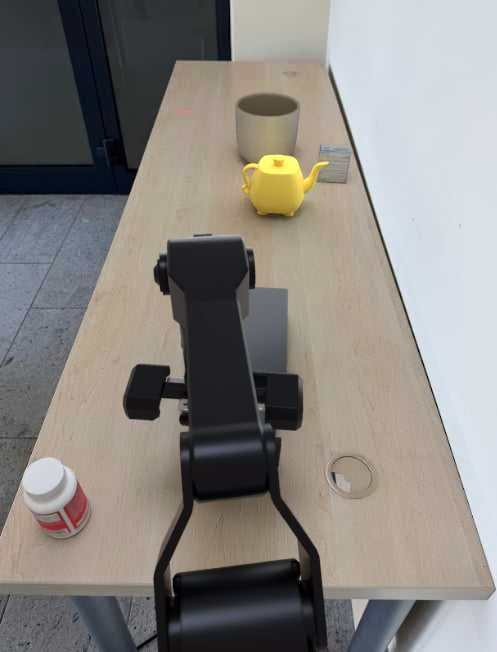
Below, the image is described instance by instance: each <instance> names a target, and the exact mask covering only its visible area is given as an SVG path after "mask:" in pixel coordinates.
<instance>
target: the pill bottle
mask: <svg viewBox="0 0 497 652" xmlns="http://www.w3.org/2000/svg"><path fill="white" fill-rule="evenodd" d="M21 483H22V484H21V485H22V488H23V492H22V493H23V494H22V495H23V496H22V497H23V501H24V504H25V506H26V508H27V509H28V510H29V512H30V513H31V514H32V516H33V517H34V519H35V520H36V521H37V523H38V524H39V525H40V527H41V529H42V530H43V531H44V532H45V533H46V534H47V535H48V536H50V537H51V538H53V539H66V538H70V537H72V536H74V535H76V534H78V533H79V532H80V531H81V530H83V528H84V527H85V526H86V525H87V523H88V521H89V518H90V514H91V505H90V502H89V500H88V498H87V496H86V494H85V492H84V489H83V487H82V486H81V484H80V482H79V480H78V478H77V476H76V474H75V473H74V471H73V470H72V469H71V468H70V467H68V466H66V465H63V464H62V462H61V461H60V460H59V459H57V458H55V457H43V458H39V459H37V460H36V461H34V462H32V463H31V464H30V465H28V467H27V468H26V469H25V470H24V472H23V474H22V479H21Z"/></svg>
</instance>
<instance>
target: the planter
mask: <svg viewBox="0 0 497 652" xmlns="http://www.w3.org/2000/svg"><path fill="white" fill-rule="evenodd" d="M234 108H235V109H234V110H235V111H234V112H235V113H234V115H235V132H236V133H235V135H236V137H235V138H236V146H237V150H238V152H239V154H240V155H241V157H242V158H243V159H244V160H245V161H246V162H248V164H252V163H254V164H258V163H259V162H260V160H261V159H262V158H263V157H264V156H266V155H283V156H291V157H292V155H293V153H294V152H295V148H296V145H297V139H298V131H299V122H300V113H301V104H300V102H299V100H297V98H294V97H293V96H290V95H287V94H284V93H278V92H265V91H264V92H254V93H249V94H245V95H243V96H241V97H239V98H238V99H237V100H236V101H235V104H234Z"/></svg>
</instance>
